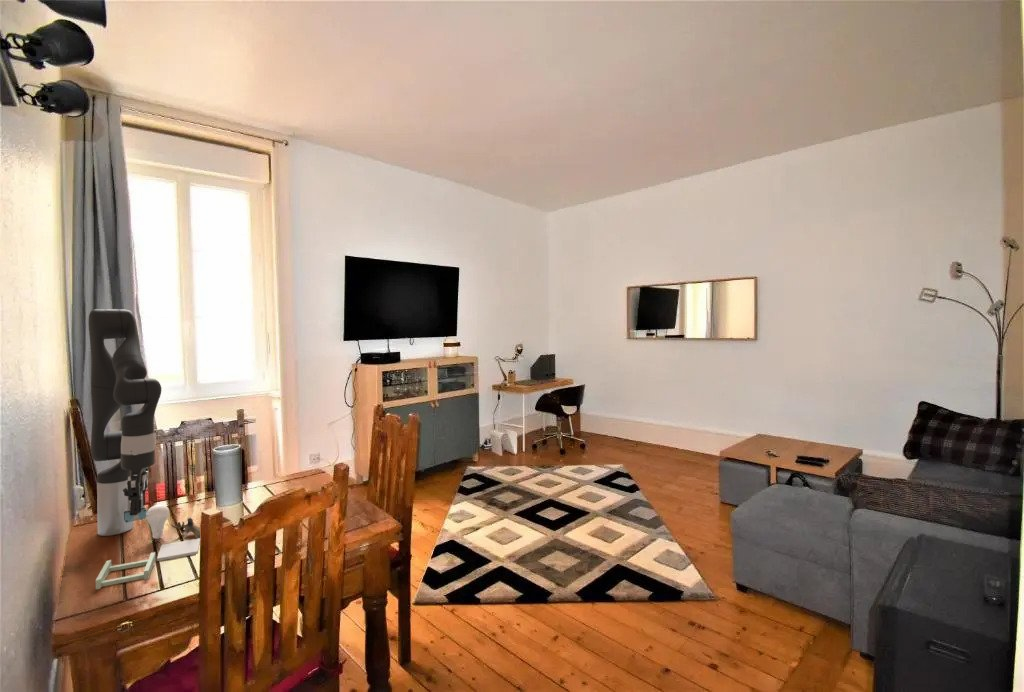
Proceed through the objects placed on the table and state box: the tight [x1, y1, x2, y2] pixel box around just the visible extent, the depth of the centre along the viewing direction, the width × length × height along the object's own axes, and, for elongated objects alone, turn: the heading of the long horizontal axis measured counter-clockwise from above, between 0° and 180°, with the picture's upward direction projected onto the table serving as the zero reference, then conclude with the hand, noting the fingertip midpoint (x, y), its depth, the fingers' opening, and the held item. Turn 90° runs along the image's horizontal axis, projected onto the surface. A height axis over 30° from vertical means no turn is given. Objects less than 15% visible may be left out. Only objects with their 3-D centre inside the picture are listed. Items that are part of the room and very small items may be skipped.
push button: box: [123, 485, 153, 523], centre depth 134 cm, size 7×5×10 cm
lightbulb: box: [145, 504, 170, 540], centre depth 153 cm, size 6×6×11 cm
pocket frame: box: [95, 551, 156, 590], centre depth 131 cm, size 12×11×2 cm
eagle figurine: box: [170, 517, 201, 540], centre depth 155 cm, size 8×7×9 cm
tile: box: [156, 538, 201, 562], centre depth 145 cm, size 10×10×1 cm
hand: (138, 509), depth 134 cm, fingers closed on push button, 4 cm apart
